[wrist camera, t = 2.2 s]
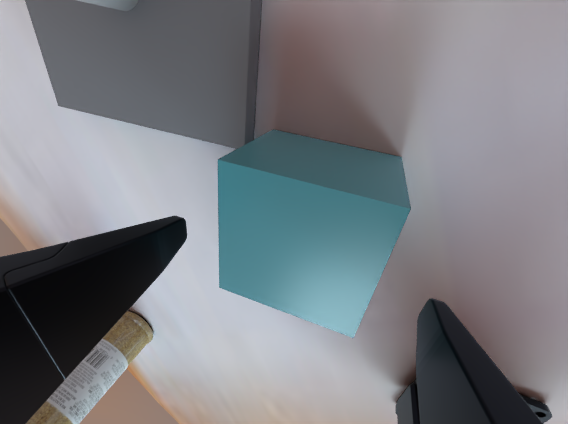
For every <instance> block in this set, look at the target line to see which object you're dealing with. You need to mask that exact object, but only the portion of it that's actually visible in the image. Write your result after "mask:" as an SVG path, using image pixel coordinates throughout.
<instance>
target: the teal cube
mask: <svg viewBox="0 0 568 424" xmlns="http://www.w3.org/2000/svg"><path fill="white" fill-rule="evenodd" d="M410 210H411V207H410V201H409V196H408V191H407V185H406V180H405V174H404V169H403V163H402V158H401V157H399V156H394V155H390V154H385V153H380V152H376V151H371V150H366V149H362V148H357V147H352V146H348V145H343V144H338V143H334V142H329V141H324V140H320V139H315V138H310V137H306V136H301V135H297V134H292V133H287V132H283V131H278V130H271V131H269V132H268V133H266V134H264V135H262V136H260V137H258V138H257V139H255V140H253V141H251V142H249V143H247V144H246V145H244V146H242V147H240V148H238V149H236V150H235V151H233V152H231V153H229V154H227V155H225V156H223V157H222V158H220V159H218V217H219V288H222V289H225V290H227V291H230V292H233V293H235V294H238V295H241V296H243V297H246V298H248V299H251V300H254V301H256V302H259V303H262V304H264V305H267V306H270V307H272V308H275V309H278V310H280V311H283V312H286V313H288V314H291V315H293V316H296V317H299V318H301V319H304V320H307V321H309V322H312V323H315V324H317V325H320V326H323V327H325V328H328V329H331V330H333V331H336V332H339V333H341V334H344V335H346V336H349V337H352V338H354V336H355V333H356V331H357V329H358V327H359V324H360V322H361V320H362V318H363V315H364V313H365V311H366V309H367V306H368V304H369V302H370V300H371V297H372V295H373V293H374V291H375V288H376V286H377V284H378V282H379V279H380V277H381V275H382V273H383V270H384V268H385V266H386V264H387V261H388V259H389V257H390V255H391V252H392V250H393V248H394V246H395V243H396V241H397V239H398V237H399V234H400V232H401V230H402V228H403V225H404V223H405V221H406V219H407V216H408V214H409V212H410Z"/></svg>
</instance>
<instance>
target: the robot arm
mask: <svg viewBox="0 0 568 424" xmlns="http://www.w3.org/2000/svg"><path fill="white" fill-rule="evenodd" d="M186 238H187V229H186V221H185V219H184V218H181V217H178V216H171V217H167V218H163V219H159V220H155V221H151V222H147V223H143V224H139V225H135V226H130V227H126V228H122V229H118V230H114V231H110V232H106V233H102V234H98V235H94V236H90V237H86V238H82V239H78V240H74V241H70V242H65V243H61V244H57V245H53V246H49V247H45V248H40V249H36V250H32V251H27V252H22V253H17V254H12V255H7V256H2V257H0V424H26V423H27V422H28V421H29V420H30V418H31V417H32V416H33V415H34V414H35V413H36V412H37V411H38V410H39V408H40V407H41V406H42V405H43V404H44V403H45V402H46V401H47V400H48V398H49V397H50V396H51V395H52V394H53V393H54V392H55V391H56V390H57V388H58V387H59V386H60V385H61V384H62V383H63V382H64V379H66V378H67V377H68V376H69V375H70V374H71V373H72V372H73V371H74V369H75V368H76V367H77V366H78V365H79V364H80V363H81V362H82V361H83V359H84V358H85V357H86V356H87V355H88V354H89V353H90V352H91V351H92V349H93V348H94V347H95V346H96V345H97V344H98V343H99V342H100V341H101V340H102V338H103V337H104V336H105V335H106V334H107V333H108V332H109V331H110V330H111V328H112V327H113V326H114V325H115V324H116V323H117V322H118V321H119V320H120V318H121V317H122V316H123V315H124V314H125V313H126V312H127V311H128V310H129V309H130V307H131V306H132V305H133V304H134V303H135V302H136V301H137V300H138V299H139V297H140V296H141V295H142V294H143V293H144V292H145V291H146V290H147V289H148V287H149V286H150V285H151V284H152V283H153V282H154V281H155V280H156V279H157V278H158V276H159V275H160V274H161V273H162V272H163V271H164V269H165V268H166V267H167V265H168V264H169V263H170V261H171V260H172V259H173V257H174V256H175V254H176V253H177V252H178V250H179V249H180V248H181V246H182V245H183V244H184V242H185V241H186ZM416 377H417V378H416V380H415V381H414V382H413V383H412V384H410V385H409V386H408V388H407V389H406V390H405V391H404V393H403V394H402V395H401V397H400V398H399V399H398V401H397V404H396V414H397V416H398V424H543V423H544V422H546V421H548V420H549V419H551V417H552V414H551V412H550V410H549V408H548V406H547V405H546V404H544V403H541V402H539V401H536V400H533V399H531V398H528V397H525V396H523V395H520V394H519V393H518V392H517V391H516V389H515V388H514V387H513V386H512V384H511V383H510V382H509V381H508V380H507V378H506V377H505V376H504V375H503V373H502V372H501V371H500V370H499V368H498V367H497V366H496V365H495V364H494V362H493V361H492V360H491V359H490V357H489V356H488V355H487V354H486V352H485V351H484V350H483V349H482V348H481V346H480V345H479V344H478V343H477V341H476V340H475V339H474V338H473V337H472V335H471V334H470V333H469V332H468V330H467V329H466V328H465V327H464V325H463V324H462V323H461V322H460V321H459V319H458V318H457V317H456V316H455V314H454V313H453V312H452V311H451V309H450V308H449V307H448V306H447V305H446V304H445V303H444V302H442V301H439V300H436V299H429V300H428V301H427V303H426V304H425V306H424V308H423V309H422V311H421V312H420V314H419V316H418V321H417V348H416Z"/></svg>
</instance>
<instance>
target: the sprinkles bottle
mask: <svg viewBox="0 0 568 424" xmlns="http://www.w3.org/2000/svg"><path fill="white" fill-rule="evenodd" d="M152 338H153V332H152V329H151V328H150V326H149V325H148V323H147V322H146V321H145V320H144V319H142V318H141V317H140V316H139V315H137V314H135V313H132V312H129V311H127V312H126V313H125V314H124V315H123V316H122V317H121V318H120V320H119V321H118V322H117V323H116V324H115V325H114V326H113V327H112V328H111V330H110V331H109V332H108V333H107V334H106V335H105V336H104V337H103V338H102V340H101V341H100V342H99V343H98V344H97V345H96V346H95V347H94V348H93V349H92V351H91V352H90V353H89V354H88V355H87V356H86V357H85V358H84V359H83V361H82V362H81V363H80V364H79V365H78V366H77V367H76V368H75V369H74V371H73V372H72V373H71V374H70V375H69V376H68V377H67V378H66V379H64V382H63V383H62V384H61V385H60V386H59V387H58V388H57V390H56V391H55V392H54V393H53V394H52V395H51V396H50V397H49V398H48V400H47V401H46V402H45V403H44V404H43V405H42V406H41V407H40V408H39V410H38V411H37V412H36V413H35V414H34V415H33V416H32V417H31V418H30V420H29V421H28V422H27V423H26V424H79V423H80V422H81V421H82V420H83V418H84V417H85V416H86V415H87V414H88V413H89V412H90V410H91V409H92V408H93V407H94V406H95V405H96V403H97V402H98V401H99V400H100V399H101V397H102V396H103V395H104V394H105V393H106V392H107V390H108V389H109V388H110V387H111V386H112V385H113V384H114V382H115V381H116V380H117V379H118V378H119V377H120V375H121V374H122V373H123V372H124V371H125V370H126V369H127V367H128V365H129V364H130V363H131V362H132V360H133V359H134V358H135V357H136V356H137V355H138V354H139V352H140V351H141V350H142V349H143V348H144V347H145V345H146V344H147V343H149V342H150V341H151V340H152Z"/></svg>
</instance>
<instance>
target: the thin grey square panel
mask: <svg viewBox="0 0 568 424" xmlns="http://www.w3.org/2000/svg"><path fill="white" fill-rule="evenodd" d="M25 2H26V5H27V8H28V11H29V14H30V17H31V21H32V24H33V27H34V30H35V33H36V36H37V40H38V43H39V46H40V49H41V52H42V55H43V59H44V62H45V65H46V68H47V71H48V74H49V78H50V81H51V84H52V87H53V90H54V93H55V97H56V100H57V103H58V106H61V107H65V108H69V109H74V110H78V111H82V112H86V113H90V114H94V115H99V116H103V117H107V118H111V119H115V120H119V121H124V122H128V123H132V124H136V125H140V126H144V127H149V128H153V129H157V130H161V131H165V132H169V133H174V134H178V135H182V136H186V137H190V138H194V139H199V140H203V141H207V142H211V143H215V144H219V145H224V146H228V147H232V148H236V149H238V148H240V147H242V146H244V145H246V144H247V143H249V142H251V141H253V138H254V121H255V105H256V88H257V72H258V55H259V39H260V22H261V5H262V0H25Z"/></svg>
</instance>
